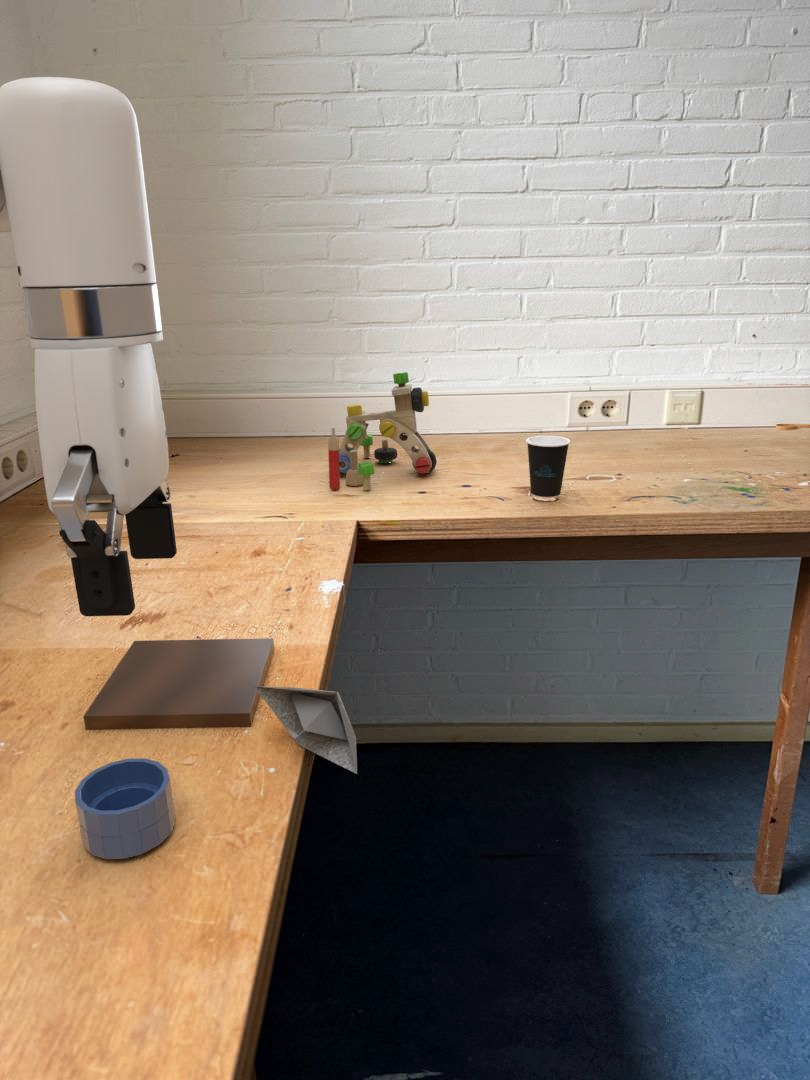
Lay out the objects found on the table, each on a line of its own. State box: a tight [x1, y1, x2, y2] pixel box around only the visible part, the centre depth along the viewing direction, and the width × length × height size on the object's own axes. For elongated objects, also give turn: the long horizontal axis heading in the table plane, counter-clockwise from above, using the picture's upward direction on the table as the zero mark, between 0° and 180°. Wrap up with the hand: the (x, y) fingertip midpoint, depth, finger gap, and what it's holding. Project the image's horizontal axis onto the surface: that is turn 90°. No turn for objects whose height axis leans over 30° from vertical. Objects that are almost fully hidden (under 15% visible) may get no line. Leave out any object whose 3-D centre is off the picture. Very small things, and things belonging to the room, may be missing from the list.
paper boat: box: [254, 686, 358, 775], centre depth 72 cm, size 12×6×9 cm
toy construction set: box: [327, 371, 438, 491], centre depth 161 cm, size 27×22×21 cm
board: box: [83, 637, 275, 730], centre depth 84 cm, size 16×16×2 cm
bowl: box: [74, 757, 176, 860], centre depth 62 cm, size 7×7×5 cm
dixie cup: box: [525, 435, 571, 499], centre depth 146 cm, size 8×8×11 cm
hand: (133, 583), depth 53 cm, fingers open, 9 cm apart
